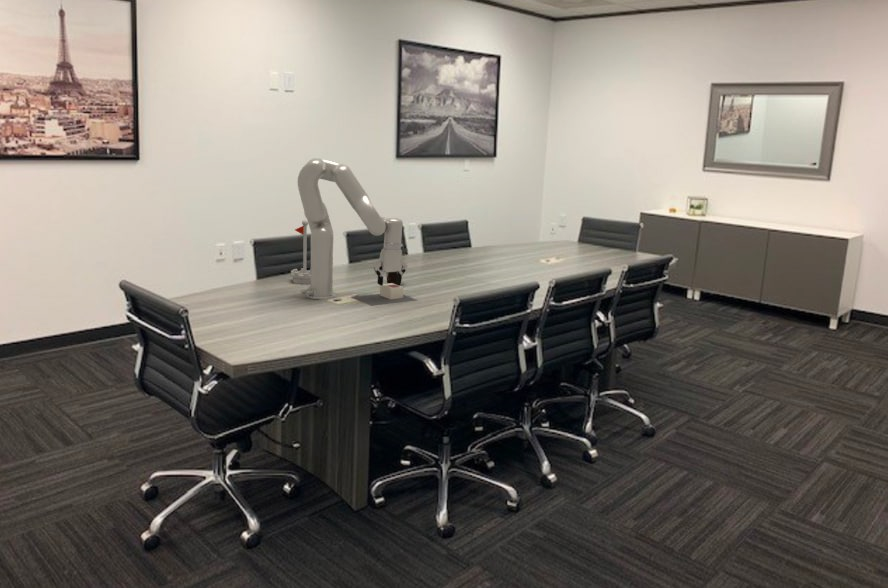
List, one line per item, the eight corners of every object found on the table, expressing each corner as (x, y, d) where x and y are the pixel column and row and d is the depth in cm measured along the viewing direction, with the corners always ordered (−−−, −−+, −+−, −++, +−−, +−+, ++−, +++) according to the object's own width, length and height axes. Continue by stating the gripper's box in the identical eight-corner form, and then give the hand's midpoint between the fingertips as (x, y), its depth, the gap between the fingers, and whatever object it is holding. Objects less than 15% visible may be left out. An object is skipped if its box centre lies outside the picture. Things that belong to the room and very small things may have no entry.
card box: (379, 295, 327) (380, 284, 325) (391, 293, 330) (392, 282, 329) (390, 299, 320) (391, 288, 318) (402, 297, 324) (403, 286, 322)
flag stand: (321, 280, 356) (322, 219, 349) (314, 285, 343) (314, 222, 337) (295, 278, 357) (295, 217, 350) (287, 283, 344) (287, 220, 338)
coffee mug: (401, 286, 349) (402, 266, 347) (383, 285, 350) (384, 265, 347) (403, 281, 361) (404, 262, 359) (386, 280, 361) (387, 261, 359)
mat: (371, 307, 307) (371, 305, 306) (350, 298, 320) (350, 297, 320) (418, 301, 321) (418, 300, 321) (395, 293, 335) (395, 291, 335)
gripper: (403, 244, 328) (400, 281, 332) (371, 245, 318) (368, 283, 321) (413, 247, 322) (410, 285, 326) (380, 248, 312) (377, 287, 316)
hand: (389, 284), depth 324 cm, fingers open, 9 cm apart
